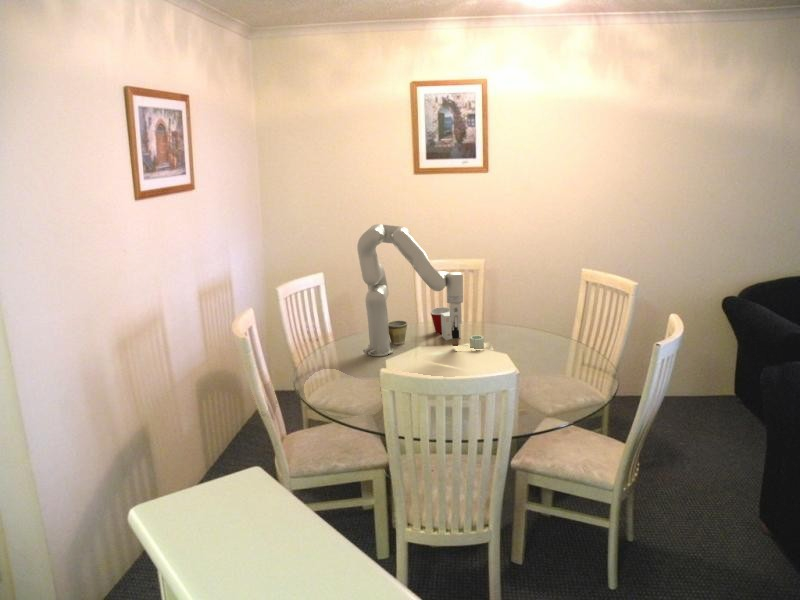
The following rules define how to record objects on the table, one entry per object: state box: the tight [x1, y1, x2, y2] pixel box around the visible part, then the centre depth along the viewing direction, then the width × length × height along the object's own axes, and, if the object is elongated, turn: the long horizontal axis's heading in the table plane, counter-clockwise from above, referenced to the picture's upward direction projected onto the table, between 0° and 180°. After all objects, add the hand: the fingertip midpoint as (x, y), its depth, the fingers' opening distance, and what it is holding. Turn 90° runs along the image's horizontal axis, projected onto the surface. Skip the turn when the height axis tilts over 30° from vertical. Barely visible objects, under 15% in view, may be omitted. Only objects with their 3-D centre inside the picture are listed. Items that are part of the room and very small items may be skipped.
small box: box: [441, 312, 462, 341], centre depth 320 cm, size 8×6×13 cm
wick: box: [451, 322, 460, 347], centre depth 302 cm, size 3×3×12 cm
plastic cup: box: [429, 306, 450, 334], centre depth 332 cm, size 11×11×12 cm
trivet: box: [459, 341, 494, 351], centre depth 305 cm, size 18×12×1 cm, turn 89°
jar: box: [469, 334, 485, 349], centre depth 303 cm, size 7×7×5 cm
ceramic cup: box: [388, 320, 408, 345], centre depth 321 cm, size 13×10×10 cm
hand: (455, 336), depth 302 cm, fingers closed on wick, 3 cm apart
